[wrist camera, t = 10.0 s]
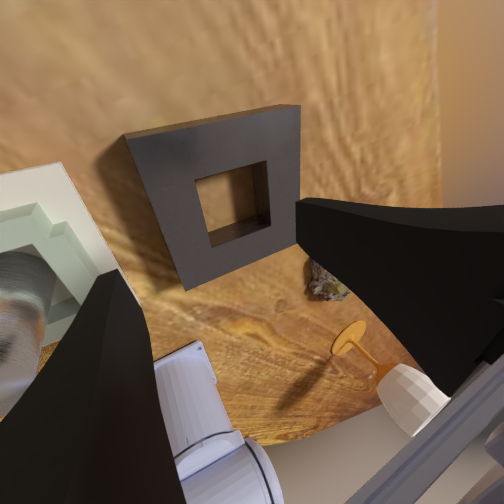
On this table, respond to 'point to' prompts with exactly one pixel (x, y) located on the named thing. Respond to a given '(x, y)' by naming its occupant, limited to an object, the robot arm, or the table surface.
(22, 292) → the smooth metal cylinder
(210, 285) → the table surface
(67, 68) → the table surface
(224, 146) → the socket block
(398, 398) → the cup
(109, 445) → the robot arm
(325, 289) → the mineral rock
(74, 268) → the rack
